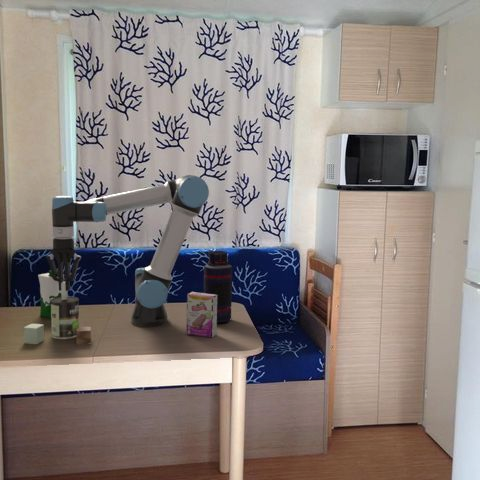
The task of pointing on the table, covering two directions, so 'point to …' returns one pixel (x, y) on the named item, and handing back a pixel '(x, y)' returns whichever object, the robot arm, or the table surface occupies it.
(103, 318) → the table surface
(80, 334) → the brown wooden cube
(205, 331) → the candy bar box
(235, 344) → the table surface
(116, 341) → the table surface
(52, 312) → the coffee can
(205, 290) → the dark capped bottle
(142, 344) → the table surface
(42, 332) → the sage block
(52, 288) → the milk carton
